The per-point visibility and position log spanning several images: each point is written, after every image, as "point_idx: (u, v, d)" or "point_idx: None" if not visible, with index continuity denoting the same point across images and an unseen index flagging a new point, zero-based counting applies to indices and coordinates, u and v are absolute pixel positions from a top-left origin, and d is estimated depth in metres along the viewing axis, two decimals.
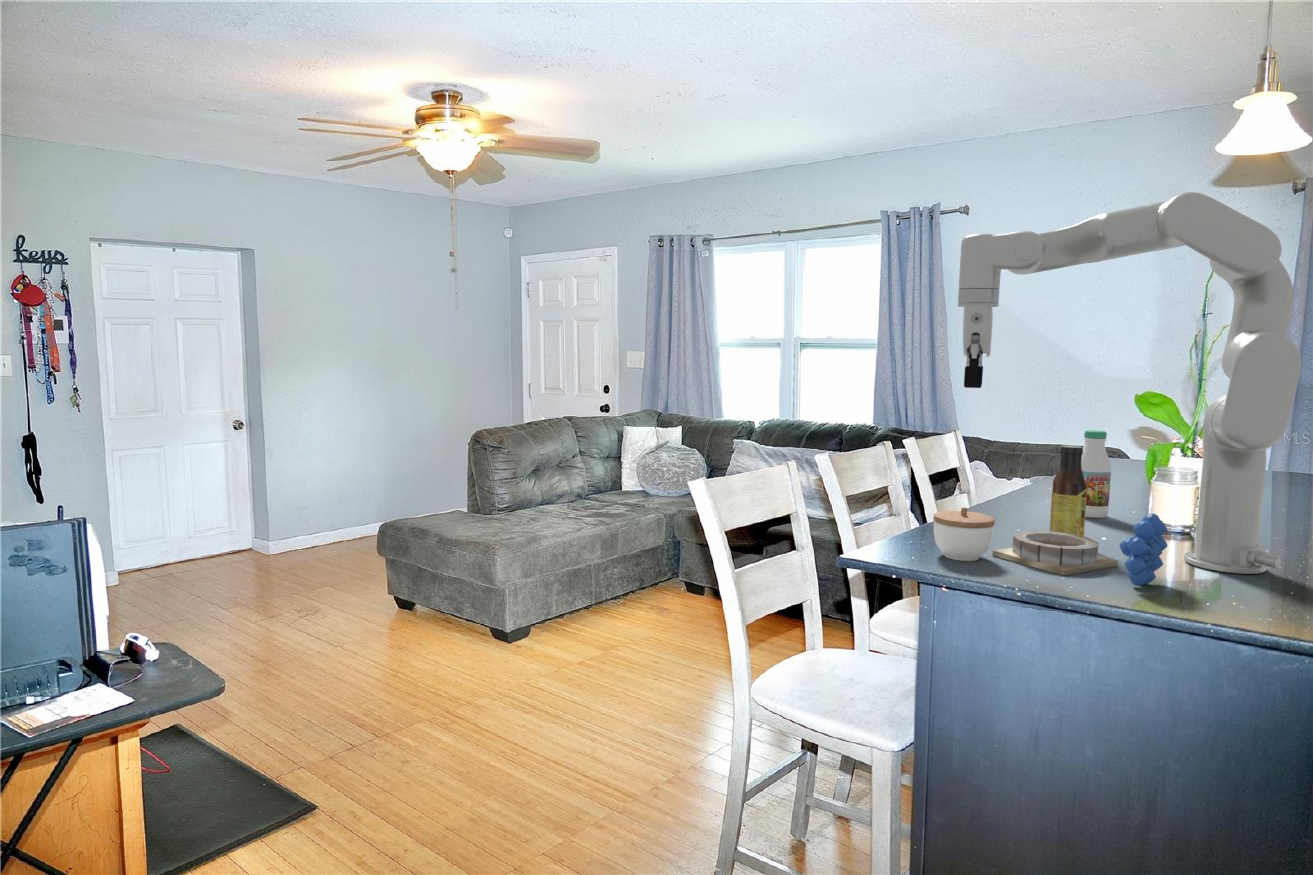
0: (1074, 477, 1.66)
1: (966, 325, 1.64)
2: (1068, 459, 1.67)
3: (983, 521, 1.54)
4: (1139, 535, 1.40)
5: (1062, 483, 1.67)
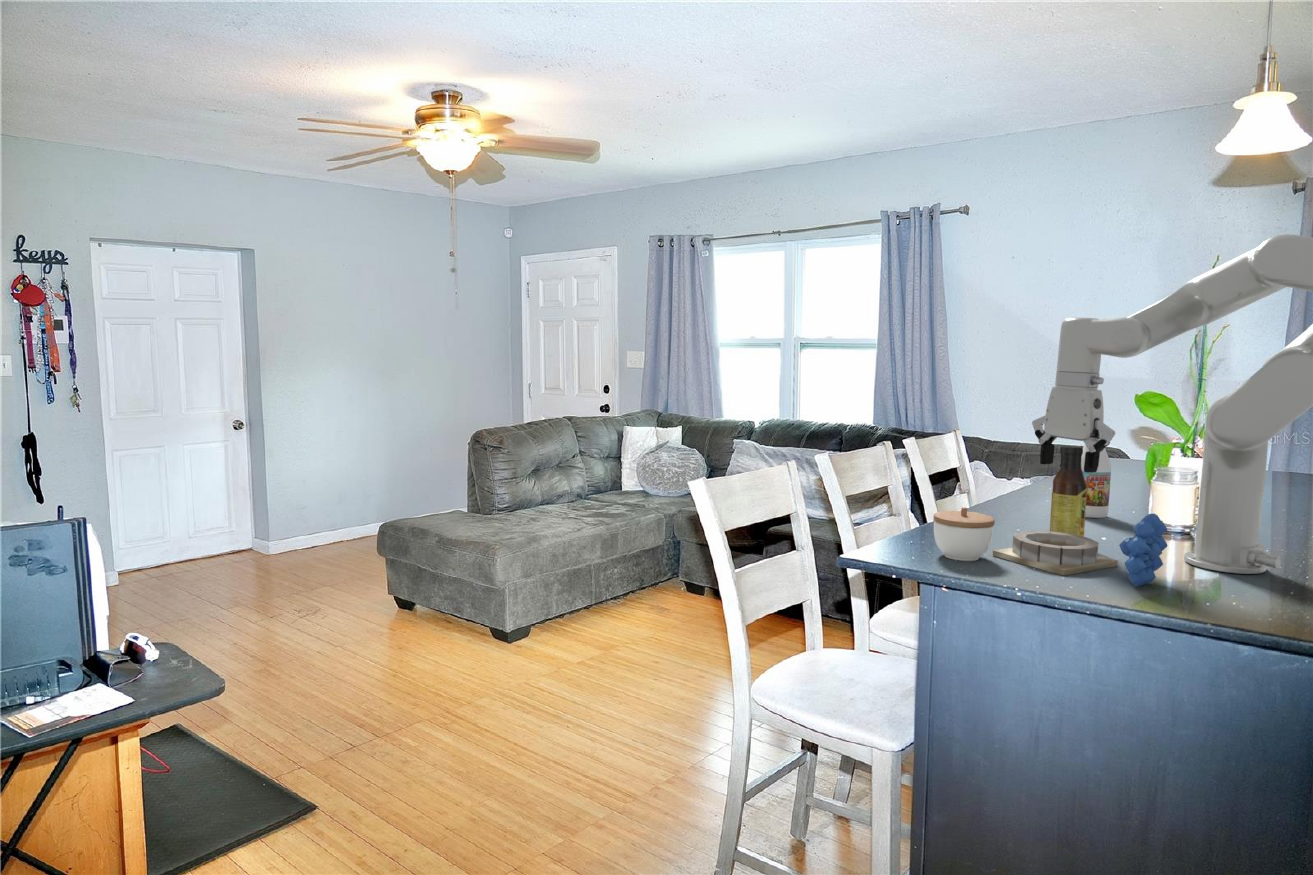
0: (1074, 477, 1.66)
1: (1089, 410, 1.62)
2: (1068, 459, 1.67)
3: (983, 521, 1.54)
4: (1139, 535, 1.40)
5: (1062, 483, 1.67)
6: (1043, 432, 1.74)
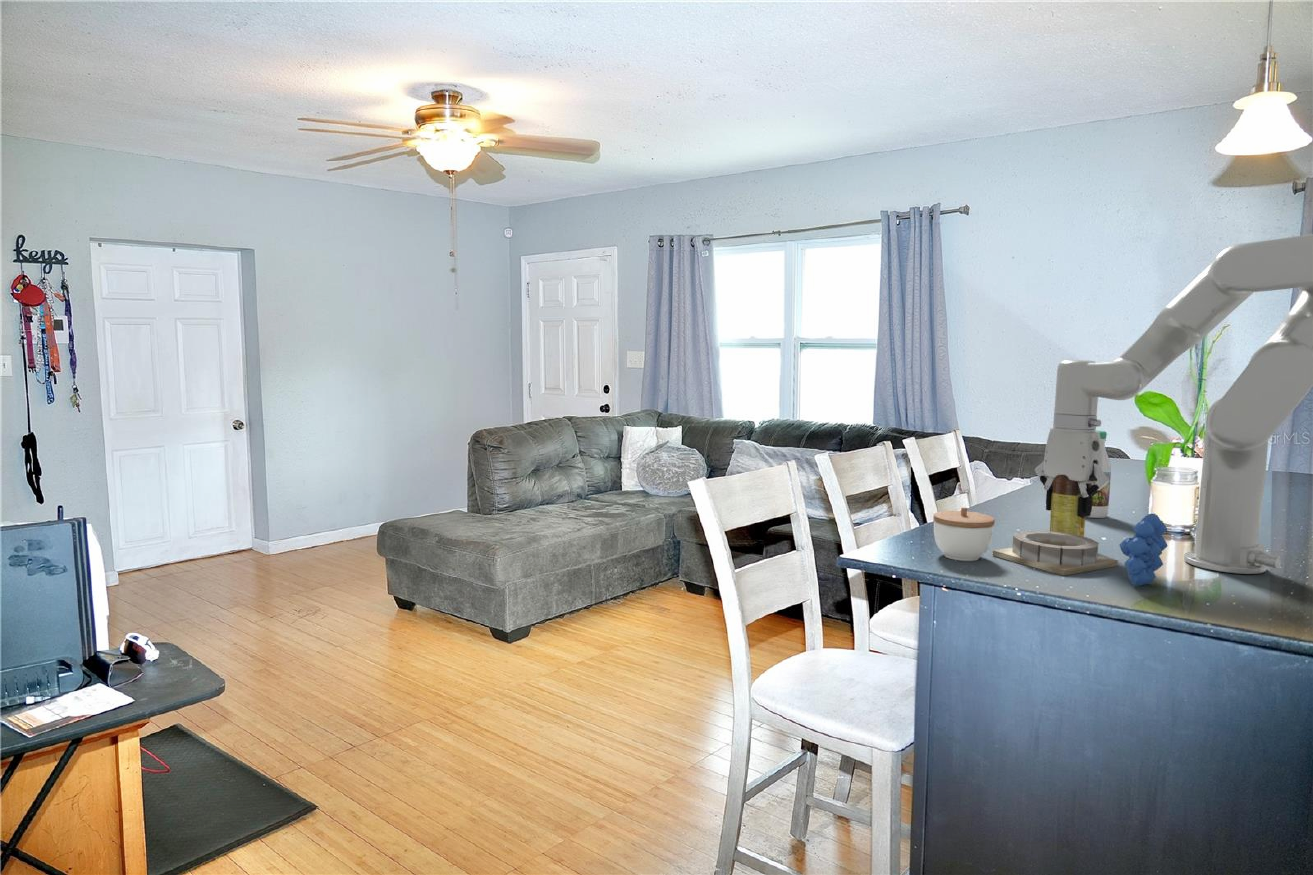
0: None
1: (1088, 453, 1.63)
2: None
3: (983, 521, 1.54)
4: (1139, 535, 1.40)
5: (1062, 483, 1.67)
6: (1048, 477, 1.73)
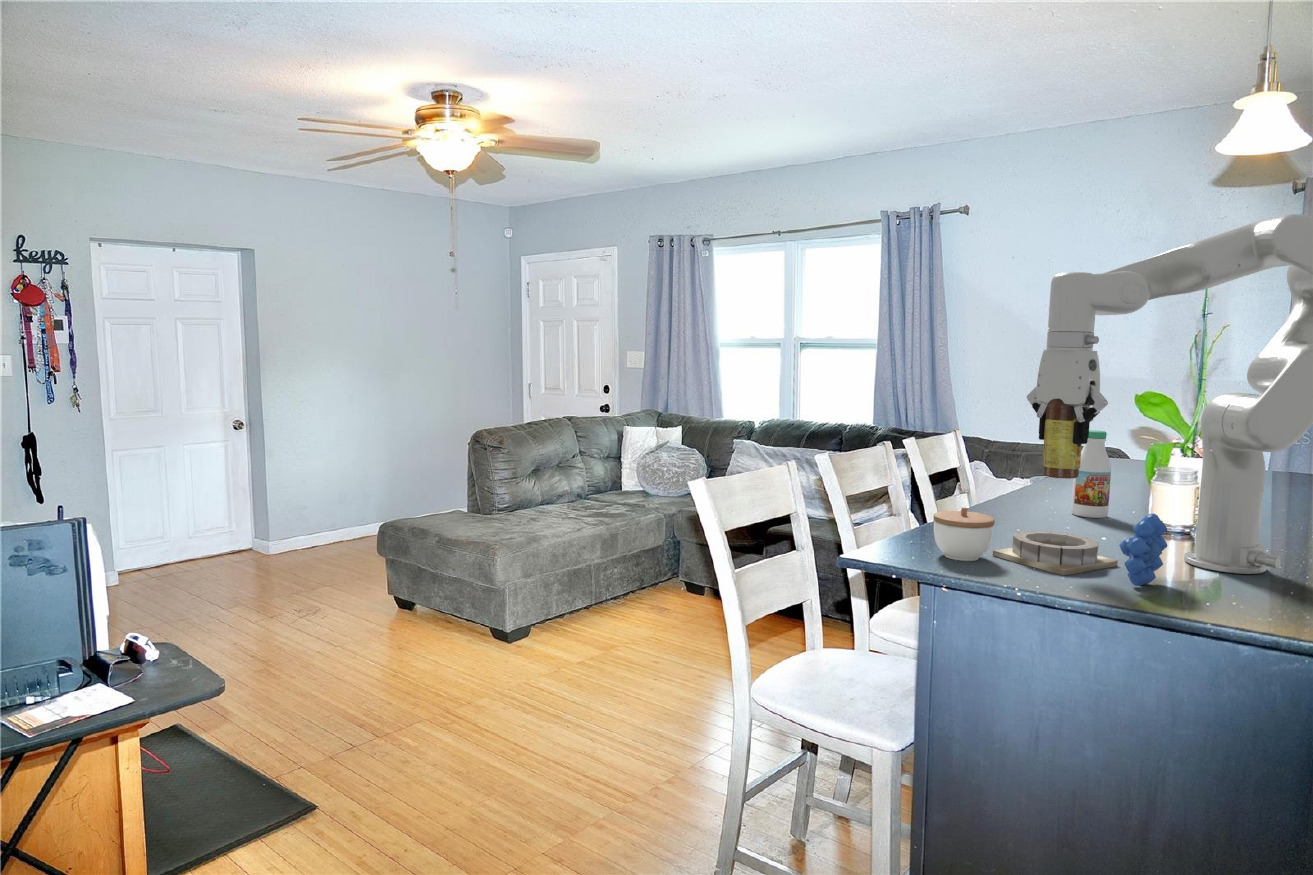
0: None
1: (1084, 372, 1.49)
2: None
3: (983, 521, 1.54)
4: (1139, 535, 1.40)
5: (1056, 407, 1.53)
6: None
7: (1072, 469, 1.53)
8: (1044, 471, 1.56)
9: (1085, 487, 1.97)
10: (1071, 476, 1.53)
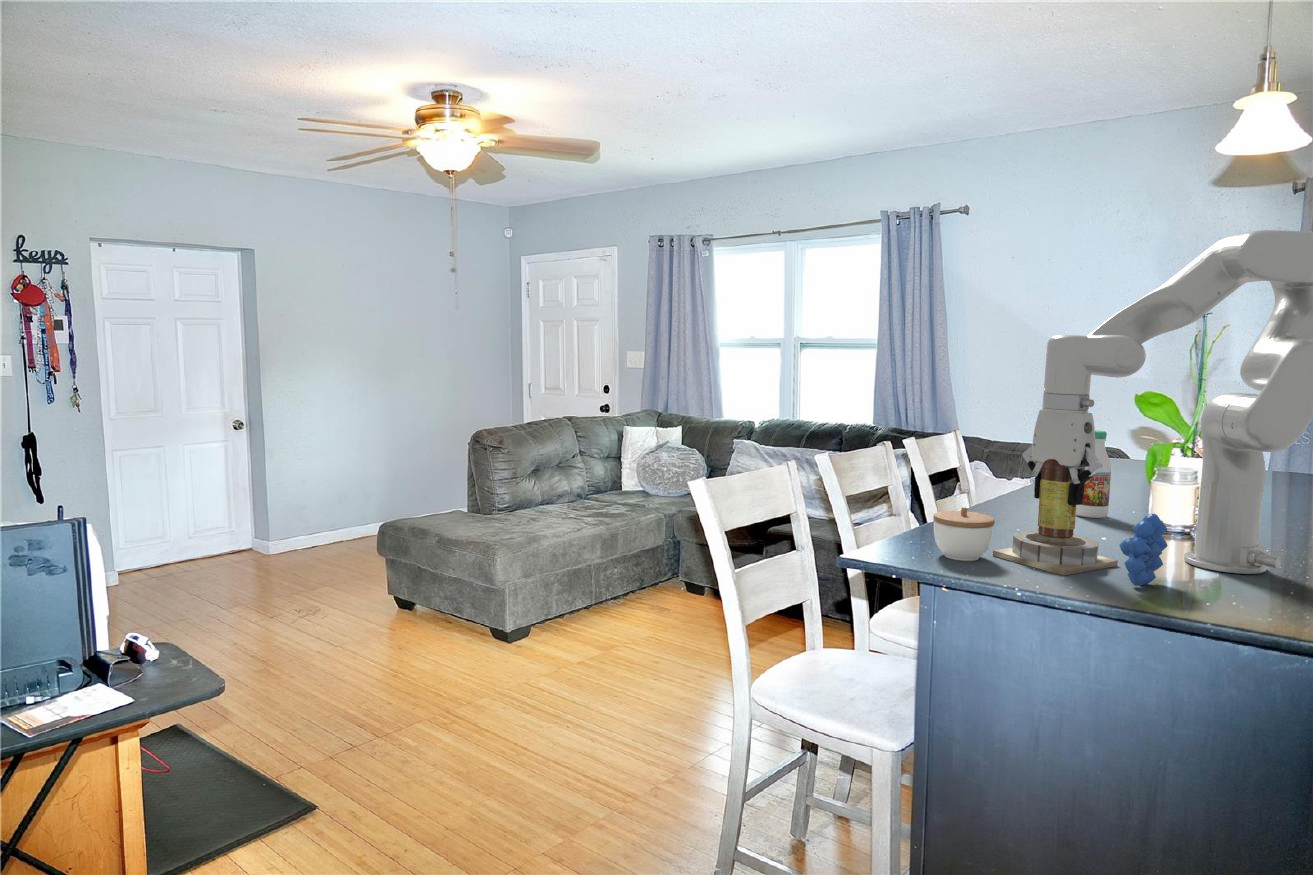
0: None
1: (1080, 435, 1.50)
2: None
3: (983, 521, 1.54)
4: (1139, 535, 1.40)
5: (1052, 468, 1.54)
6: (1037, 462, 1.60)
7: (1067, 530, 1.54)
8: (1039, 530, 1.57)
9: (1085, 487, 1.97)
10: (1066, 536, 1.54)
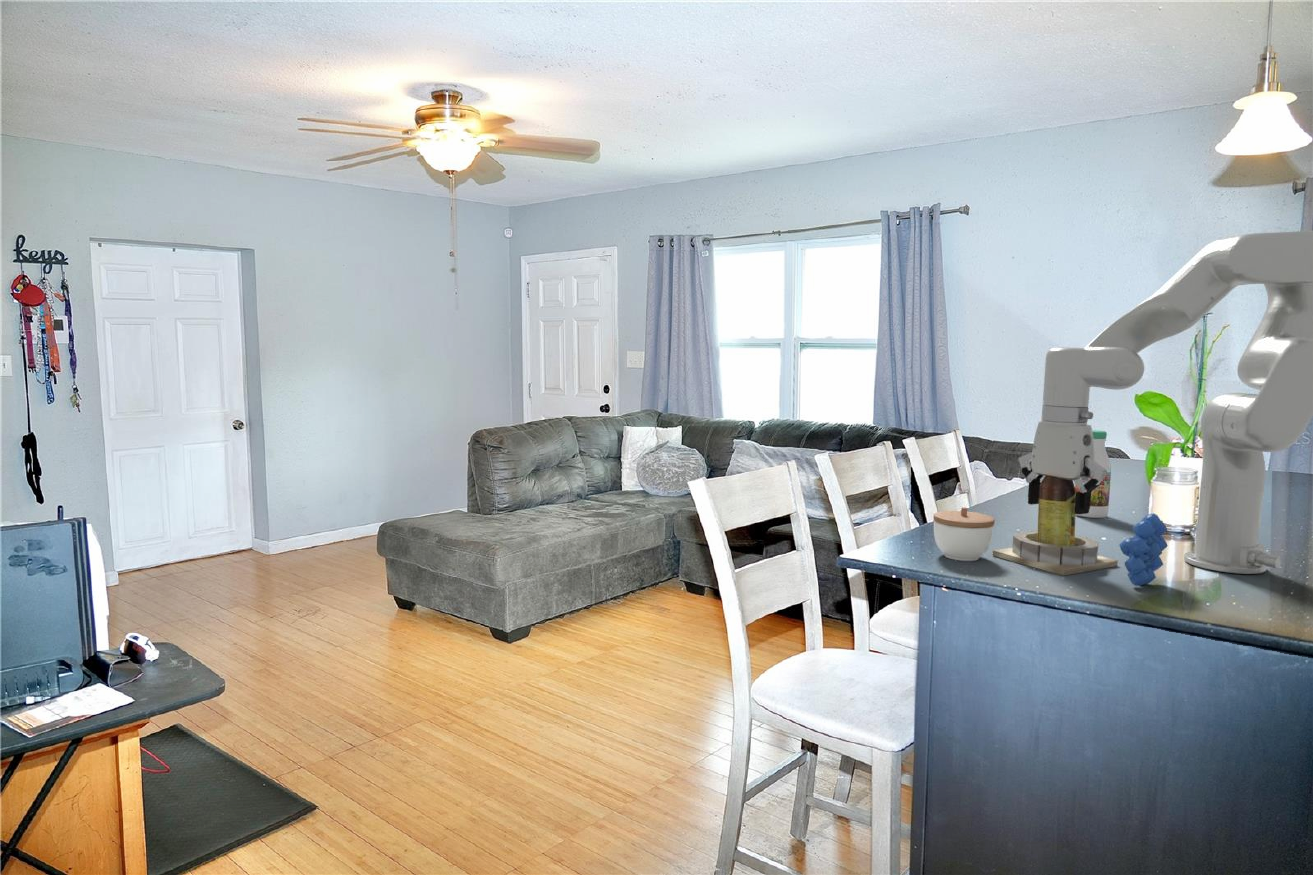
0: (1062, 481, 1.54)
1: (1079, 448, 1.50)
2: None
3: (983, 521, 1.54)
4: (1139, 535, 1.40)
5: (1050, 488, 1.55)
6: (1030, 470, 1.62)
7: None
8: None
9: None
10: None
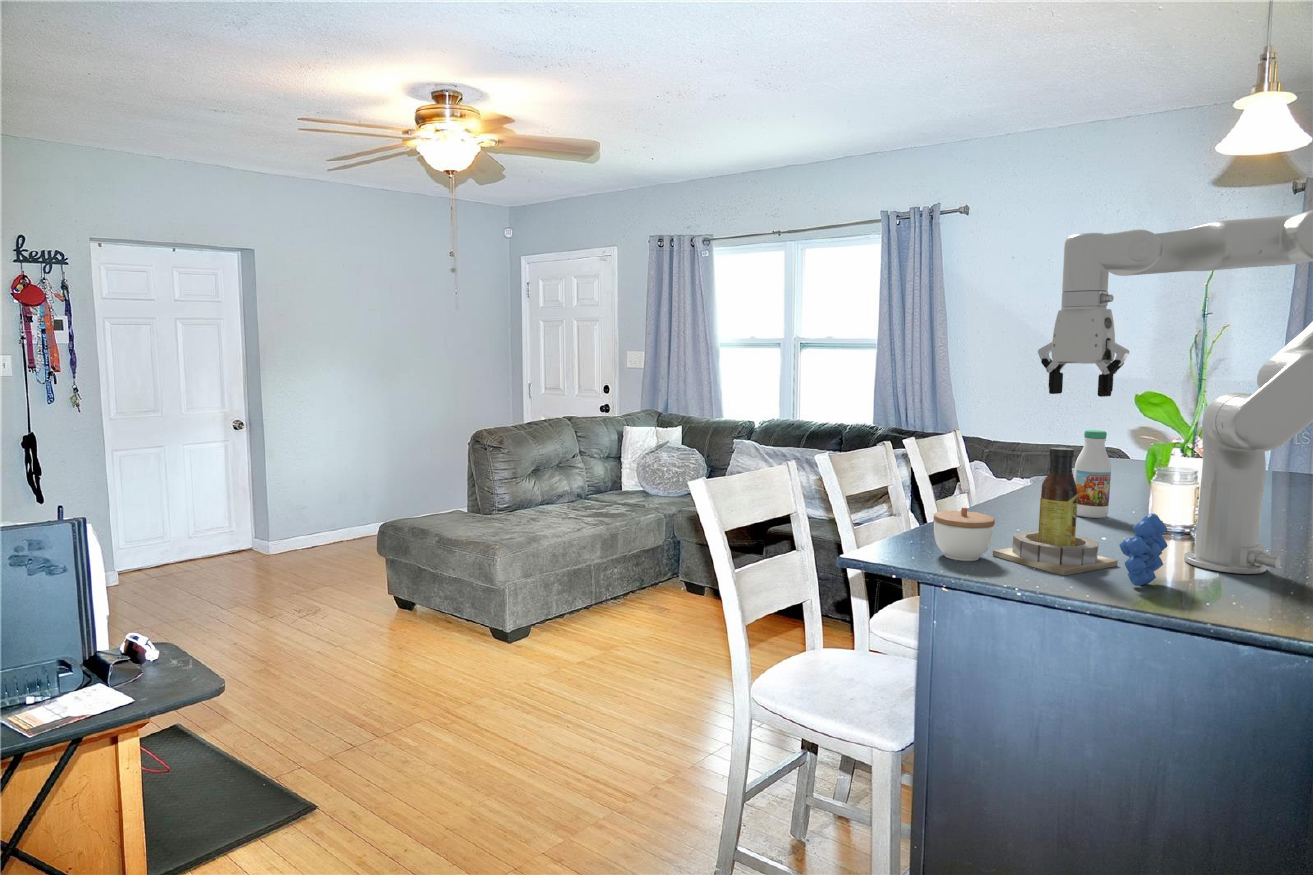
0: (1064, 481, 1.54)
1: (1101, 330, 1.53)
2: (1058, 462, 1.55)
3: (983, 521, 1.54)
4: (1139, 535, 1.40)
5: (1052, 487, 1.55)
6: (1050, 360, 1.64)
7: None
8: None
9: (1085, 487, 1.97)
10: None
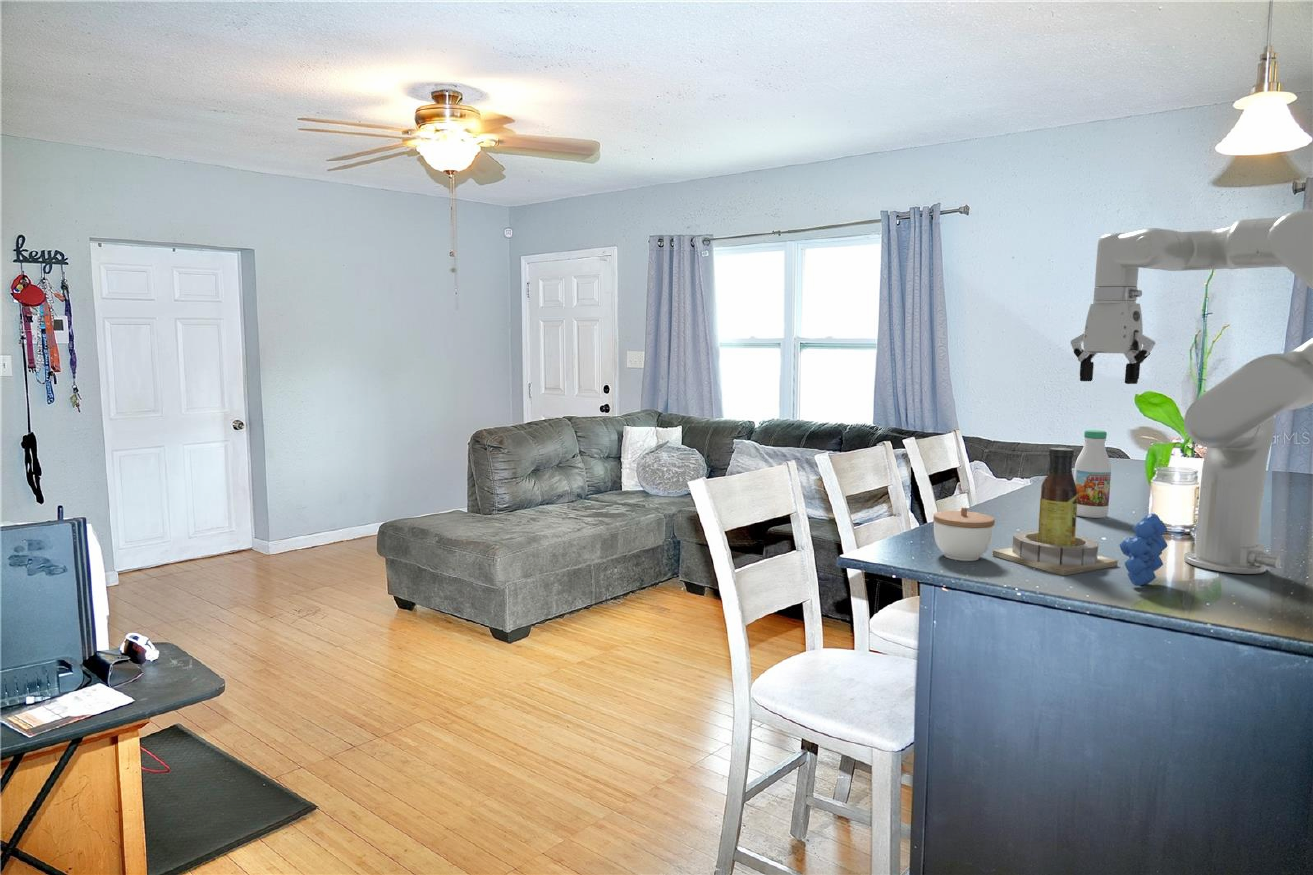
0: (1064, 482, 1.54)
1: (1129, 322, 1.66)
2: (1058, 462, 1.55)
3: (983, 521, 1.54)
4: (1139, 535, 1.40)
5: (1052, 488, 1.54)
6: (1082, 350, 1.77)
7: None
8: None
9: (1085, 487, 1.97)
10: None
